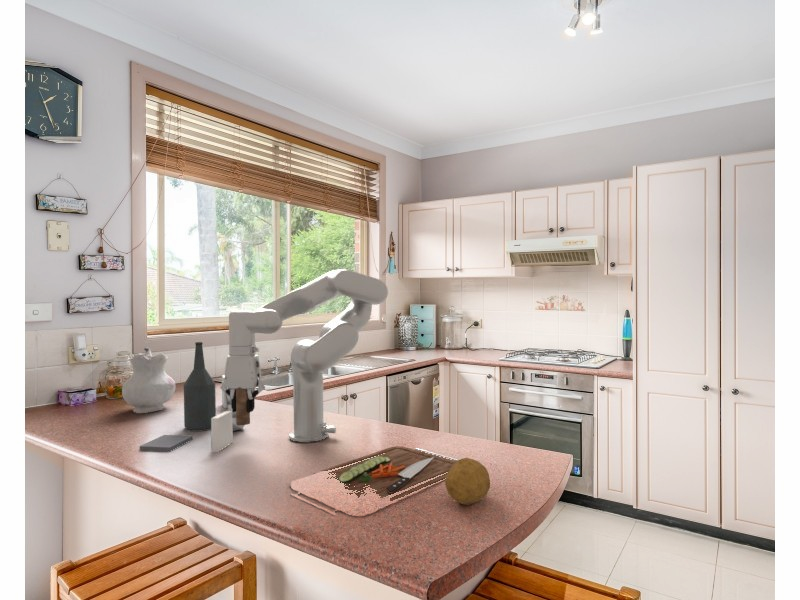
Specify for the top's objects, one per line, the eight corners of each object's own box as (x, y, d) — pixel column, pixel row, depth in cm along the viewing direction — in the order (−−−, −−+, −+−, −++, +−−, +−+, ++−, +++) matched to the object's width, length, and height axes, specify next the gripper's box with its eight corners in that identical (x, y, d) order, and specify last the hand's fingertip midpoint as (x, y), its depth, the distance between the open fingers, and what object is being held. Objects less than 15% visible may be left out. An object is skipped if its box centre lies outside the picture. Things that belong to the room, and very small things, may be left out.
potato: (501, 455, 115) (464, 445, 120) (476, 477, 104) (436, 464, 109) (498, 495, 116) (462, 483, 121) (473, 520, 105) (434, 505, 110)
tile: (232, 442, 158) (232, 411, 158) (218, 451, 149) (217, 418, 149) (225, 442, 158) (225, 410, 158) (210, 451, 149) (210, 418, 149)
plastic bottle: (220, 431, 171) (219, 372, 170) (235, 426, 177) (234, 370, 176) (234, 433, 168) (233, 374, 167) (249, 428, 174) (248, 371, 173)
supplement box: (221, 404, 211) (221, 374, 211) (240, 403, 214) (239, 373, 214) (223, 408, 205) (223, 377, 204) (242, 406, 208) (242, 376, 207)
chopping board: (403, 447, 153) (403, 437, 153) (476, 467, 135) (476, 456, 135) (276, 491, 121) (276, 478, 120) (350, 526, 102) (350, 511, 102)
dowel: (252, 421, 154) (251, 376, 154) (246, 425, 150) (245, 378, 150) (240, 421, 155) (239, 376, 154) (233, 424, 151) (233, 378, 150)
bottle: (199, 422, 183) (198, 340, 182) (221, 424, 179) (220, 340, 179) (178, 430, 173) (176, 343, 172) (201, 432, 170) (199, 343, 169)
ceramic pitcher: (117, 411, 206) (110, 351, 204) (166, 400, 219) (161, 343, 217) (131, 421, 190) (124, 356, 188) (184, 408, 203) (178, 347, 201)
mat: (192, 439, 161) (192, 435, 161) (170, 451, 150) (170, 447, 150) (164, 438, 163) (164, 434, 163) (139, 450, 151) (139, 446, 151)
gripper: (273, 350, 154) (274, 409, 155) (222, 349, 157) (223, 407, 157) (263, 352, 147) (264, 415, 147) (210, 352, 149) (210, 413, 150)
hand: (243, 410), depth 152 cm, fingers closed on dowel, 4 cm apart
